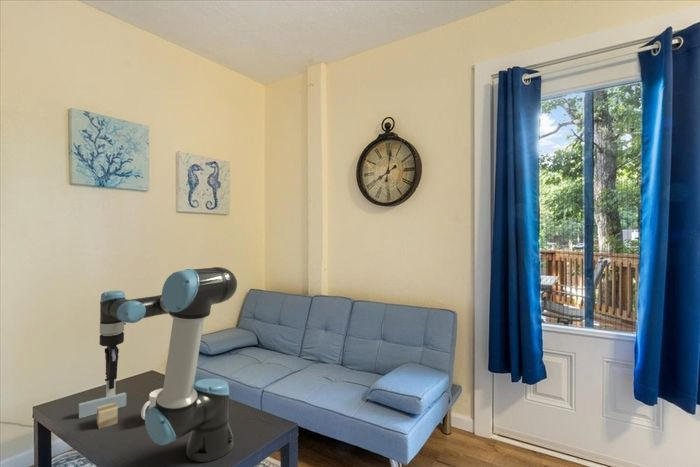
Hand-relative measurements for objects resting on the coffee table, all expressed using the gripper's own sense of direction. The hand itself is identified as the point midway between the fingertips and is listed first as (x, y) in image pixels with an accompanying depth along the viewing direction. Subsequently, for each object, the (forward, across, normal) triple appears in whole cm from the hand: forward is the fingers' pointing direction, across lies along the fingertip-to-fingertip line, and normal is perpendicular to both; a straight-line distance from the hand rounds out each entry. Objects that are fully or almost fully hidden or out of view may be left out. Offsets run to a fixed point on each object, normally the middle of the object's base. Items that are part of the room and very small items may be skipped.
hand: (110, 396), depth 130 cm
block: (+14, +9, 0) cm, 16 cm away
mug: (+14, -1, -15) cm, 20 cm away
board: (+14, +21, 0) cm, 25 cm away
